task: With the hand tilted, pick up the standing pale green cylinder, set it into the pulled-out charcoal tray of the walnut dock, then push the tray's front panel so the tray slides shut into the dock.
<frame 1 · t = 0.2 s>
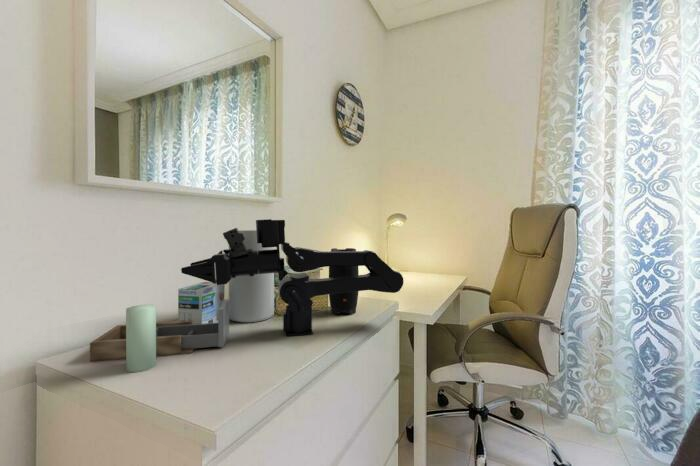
hand: (186, 267, 71), 17 cm above the table, tool horizontal, fingers open, 9 cm apart
dock: (152, 346, 68), on the table
portable speaker: (343, 312, 97), on the table
light bulb box: (202, 327, 82), on the table
cylinder vase: (251, 317, 91), on the table
pale green cylinder: (141, 366, 58), on the table
tray: (188, 323, 69), point 5 cm above the table, slide at 7.0 cm
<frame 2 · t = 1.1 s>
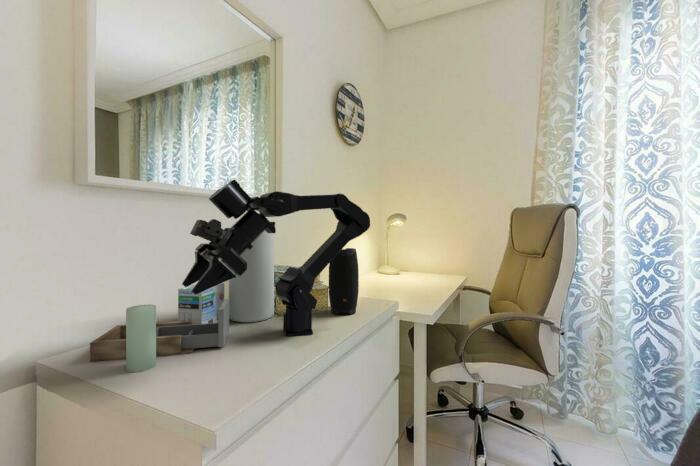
hand: (188, 289, 63), 13 cm above the table, tool tilted 45°, fingers open, 9 cm apart
nothing on the table moved.
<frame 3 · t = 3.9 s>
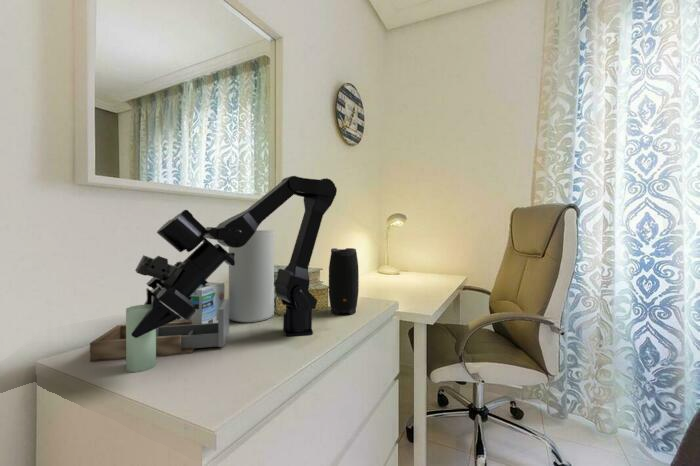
hand: (132, 332, 57), 7 cm above the table, tool tilted 45°, fingers closed on pale green cylinder, 5 cm apart
pale green cylinder: (141, 366, 58), on the table, touching gripper
everything else where it was.
when the fingers open (9 cm above the table, at t = 6.8 s): pale green cylinder drops 1 cm, resting on tray.
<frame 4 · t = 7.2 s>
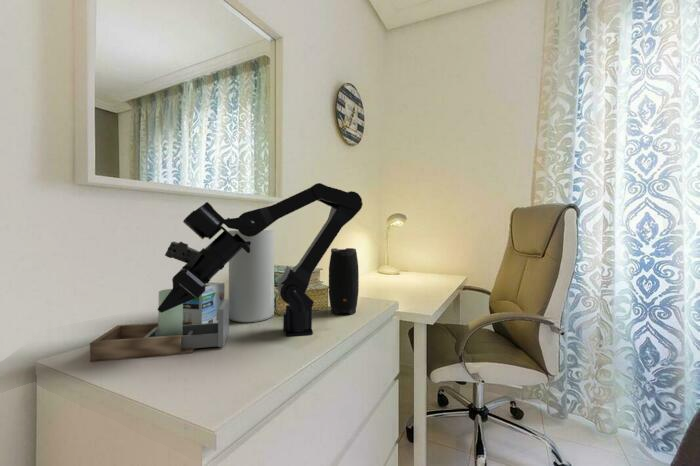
hand: (163, 306, 68), 9 cm above the table, tool tilted 45°, fingers open, 8 cm apart
pale green cylinder: (170, 341, 69), point 1 cm above the table, touching tray
tray: (188, 323, 69), point 5 cm above the table, slide at 7.0 cm, touching pale green cylinder
everything else where it was.
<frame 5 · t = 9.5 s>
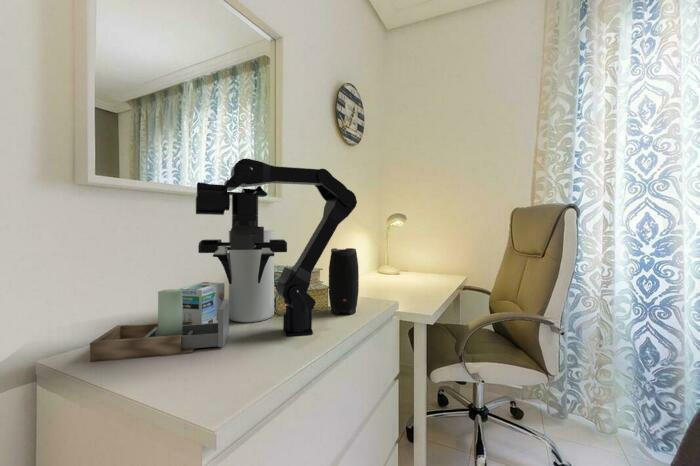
hand: (245, 283, 72), 13 cm above the table, tool pointing down, fingers open, 6 cm apart
nothing on the table moved.
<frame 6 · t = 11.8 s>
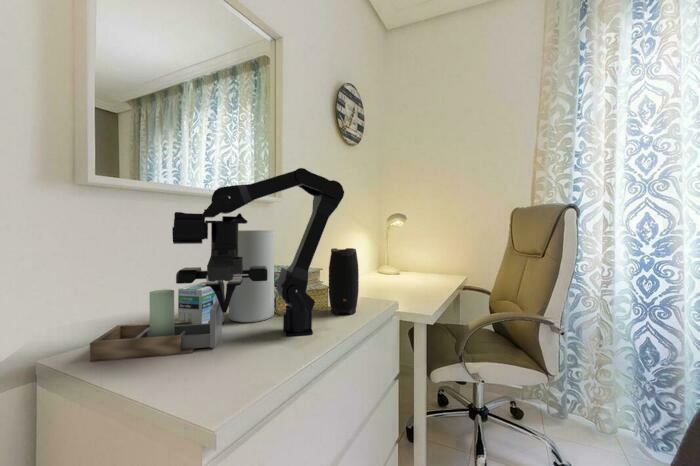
hand: (224, 312, 71), 7 cm above the table, tool pointing down, fingers closed
pale green cylinder: (162, 341, 68), point 1 cm above the table, touching tray
tray: (180, 324, 69), point 5 cm above the table, slide at 5.3 cm, touching gripper, pale green cylinder
everything else where it was.
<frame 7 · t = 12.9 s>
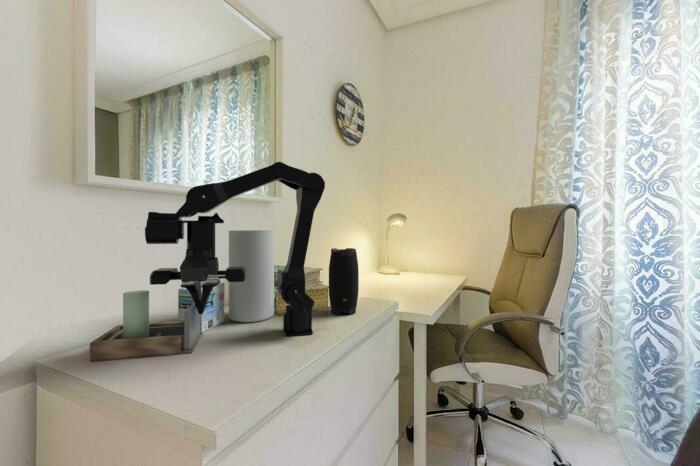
hand: (201, 313, 70), 7 cm above the table, tool pointing down, fingers closed
pale green cylinder: (136, 343, 67), point 1 cm above the table, touching tray
tray: (155, 325, 68), point 5 cm above the table, slide at 0.4 cm, touching gripper, pale green cylinder
everything else where it was.
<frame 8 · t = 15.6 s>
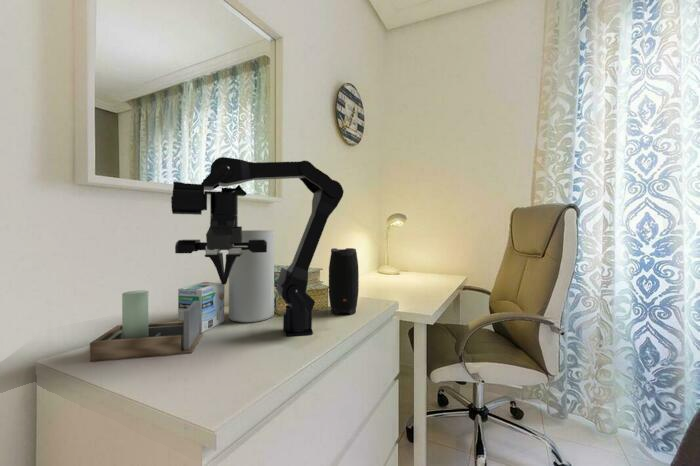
hand: (224, 284, 71), 13 cm above the table, tool pointing down, fingers closed
tray: (154, 325, 68), point 5 cm above the table, slide at 0.3 cm, touching pale green cylinder
everything else where it was.
at the end: tray slide at 0.3 cm; pale green cylinder inside the target area on the dock (3.0 cm from its centre), point 0.9 cm above the dock's base; pale green cylinder tilted 0° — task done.
